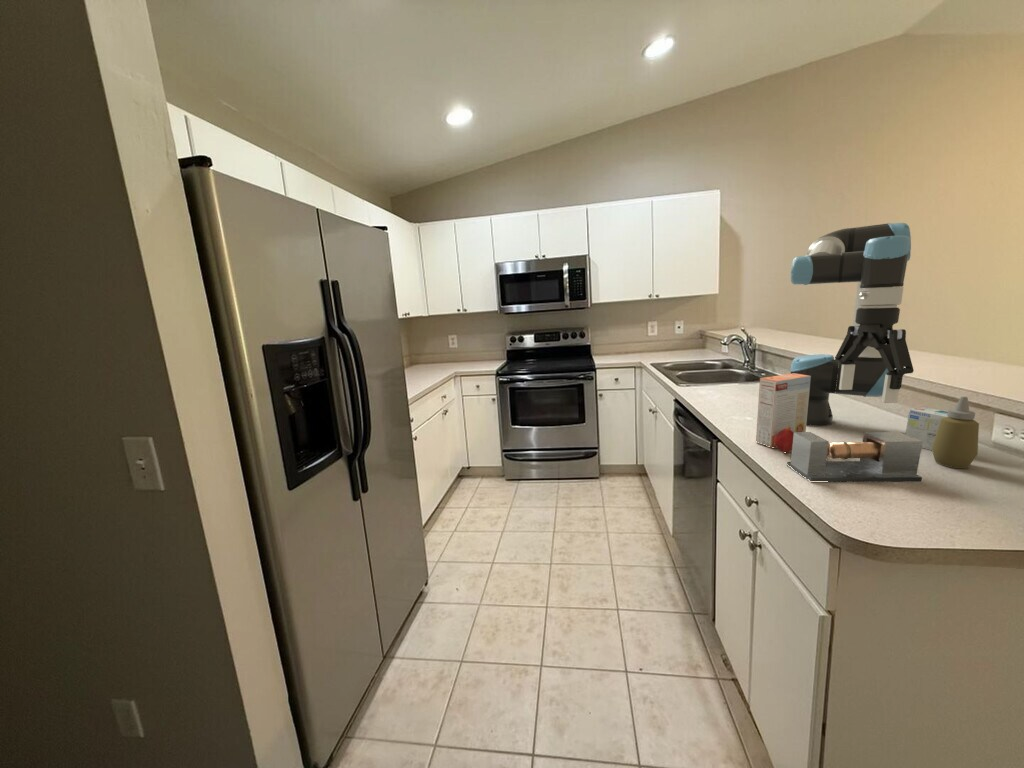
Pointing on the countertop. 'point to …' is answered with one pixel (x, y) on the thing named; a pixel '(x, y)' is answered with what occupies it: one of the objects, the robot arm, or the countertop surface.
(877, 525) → the countertop surface
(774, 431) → the cracker box
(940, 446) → the squeeze bottle
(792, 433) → the red round fruit
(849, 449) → the copper tube
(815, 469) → the jig
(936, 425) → the light bulb box
